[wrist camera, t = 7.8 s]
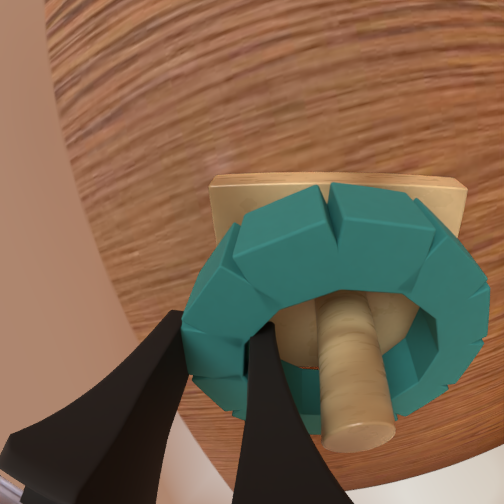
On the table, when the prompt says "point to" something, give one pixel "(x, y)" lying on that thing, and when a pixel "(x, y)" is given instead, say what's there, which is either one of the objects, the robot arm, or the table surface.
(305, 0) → the table surface
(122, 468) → the robot arm
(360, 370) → the holder
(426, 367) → the ring
